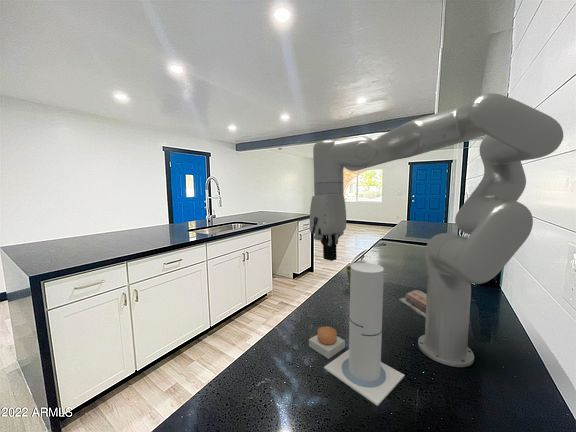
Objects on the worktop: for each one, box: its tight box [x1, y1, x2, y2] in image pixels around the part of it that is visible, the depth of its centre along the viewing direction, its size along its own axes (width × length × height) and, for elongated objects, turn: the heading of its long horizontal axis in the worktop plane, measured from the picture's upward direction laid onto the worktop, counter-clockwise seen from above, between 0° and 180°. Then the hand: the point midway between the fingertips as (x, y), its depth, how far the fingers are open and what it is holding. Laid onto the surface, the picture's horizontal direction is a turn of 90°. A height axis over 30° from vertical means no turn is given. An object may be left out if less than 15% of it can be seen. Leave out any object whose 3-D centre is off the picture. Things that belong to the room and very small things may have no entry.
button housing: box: [308, 334, 346, 360], centre depth 68 cm, size 7×7×2 cm
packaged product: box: [398, 289, 427, 319], centre depth 89 cm, size 18×5×10 cm
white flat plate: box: [323, 349, 405, 407], centre depth 58 cm, size 12×14×1 cm
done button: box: [316, 325, 338, 344], centre depth 68 cm, size 5×5×2 cm
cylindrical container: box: [348, 262, 385, 382], centre depth 57 cm, size 7×7×25 cm
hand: (329, 259), depth 65 cm, fingers closed
